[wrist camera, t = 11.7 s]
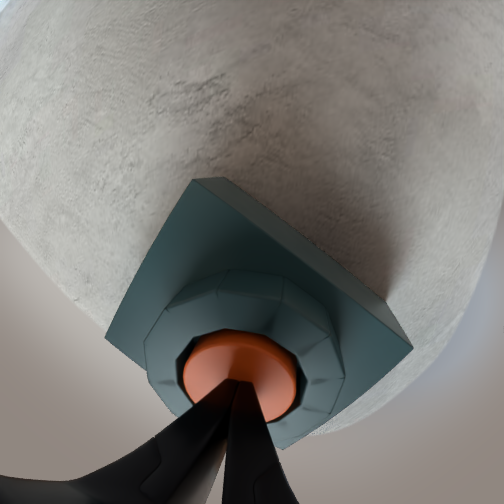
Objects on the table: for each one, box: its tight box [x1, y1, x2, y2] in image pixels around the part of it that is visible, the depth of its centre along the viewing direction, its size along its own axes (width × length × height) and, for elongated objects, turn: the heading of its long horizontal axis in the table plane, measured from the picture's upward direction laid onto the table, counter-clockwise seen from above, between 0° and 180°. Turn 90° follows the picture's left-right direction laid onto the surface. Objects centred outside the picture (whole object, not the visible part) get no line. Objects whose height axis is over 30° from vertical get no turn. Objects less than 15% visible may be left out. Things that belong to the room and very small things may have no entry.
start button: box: [183, 328, 297, 422], centre depth 9 cm, size 4×4×2 cm
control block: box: [105, 177, 413, 450], centre depth 11 cm, size 10×8×6 cm
